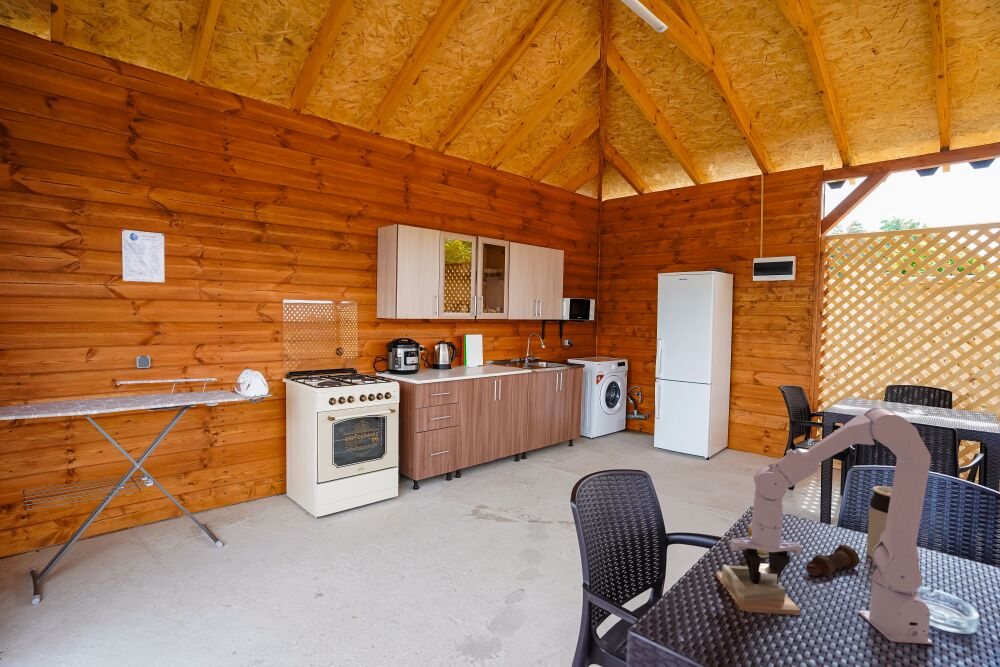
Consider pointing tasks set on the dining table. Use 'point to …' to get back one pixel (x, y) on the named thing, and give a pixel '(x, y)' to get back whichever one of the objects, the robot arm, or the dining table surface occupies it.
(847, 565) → the bolt
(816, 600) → the dining table surface
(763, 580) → the link block
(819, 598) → the dining table surface
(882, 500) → the travel mug
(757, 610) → the keeper cradle
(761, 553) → the supplement bottle
